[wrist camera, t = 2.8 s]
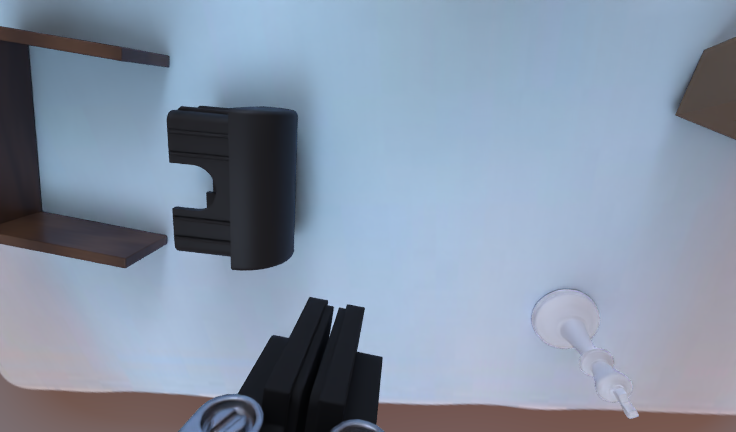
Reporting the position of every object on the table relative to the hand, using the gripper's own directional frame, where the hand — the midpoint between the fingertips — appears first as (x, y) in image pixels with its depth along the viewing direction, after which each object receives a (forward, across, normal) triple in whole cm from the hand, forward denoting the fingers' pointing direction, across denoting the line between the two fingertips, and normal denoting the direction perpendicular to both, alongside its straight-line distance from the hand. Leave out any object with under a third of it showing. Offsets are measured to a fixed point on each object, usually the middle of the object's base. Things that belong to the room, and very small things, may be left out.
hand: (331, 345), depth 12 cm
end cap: (+19, +9, 0) cm, 21 cm away
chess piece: (+19, -16, +7) cm, 26 cm away
